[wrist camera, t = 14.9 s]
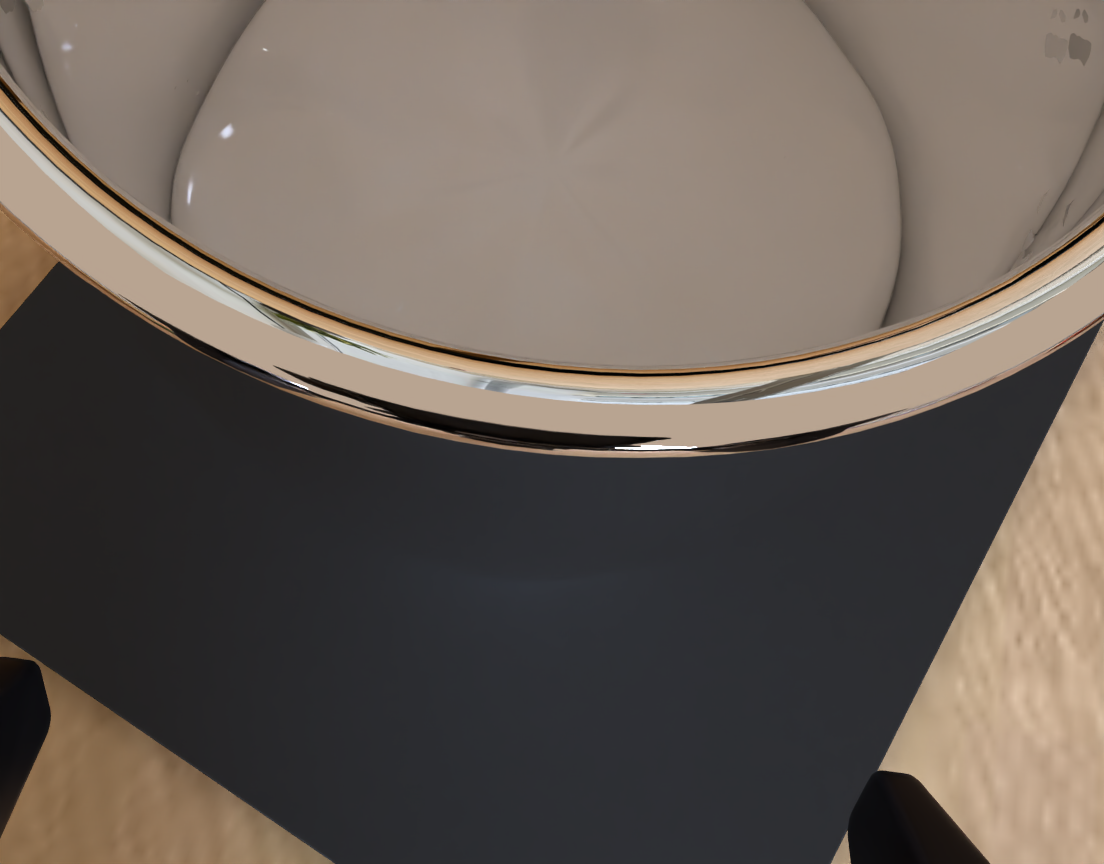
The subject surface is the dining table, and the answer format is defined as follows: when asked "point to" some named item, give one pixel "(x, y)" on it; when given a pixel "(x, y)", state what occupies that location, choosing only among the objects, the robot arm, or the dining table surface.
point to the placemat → (482, 629)
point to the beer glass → (566, 241)
